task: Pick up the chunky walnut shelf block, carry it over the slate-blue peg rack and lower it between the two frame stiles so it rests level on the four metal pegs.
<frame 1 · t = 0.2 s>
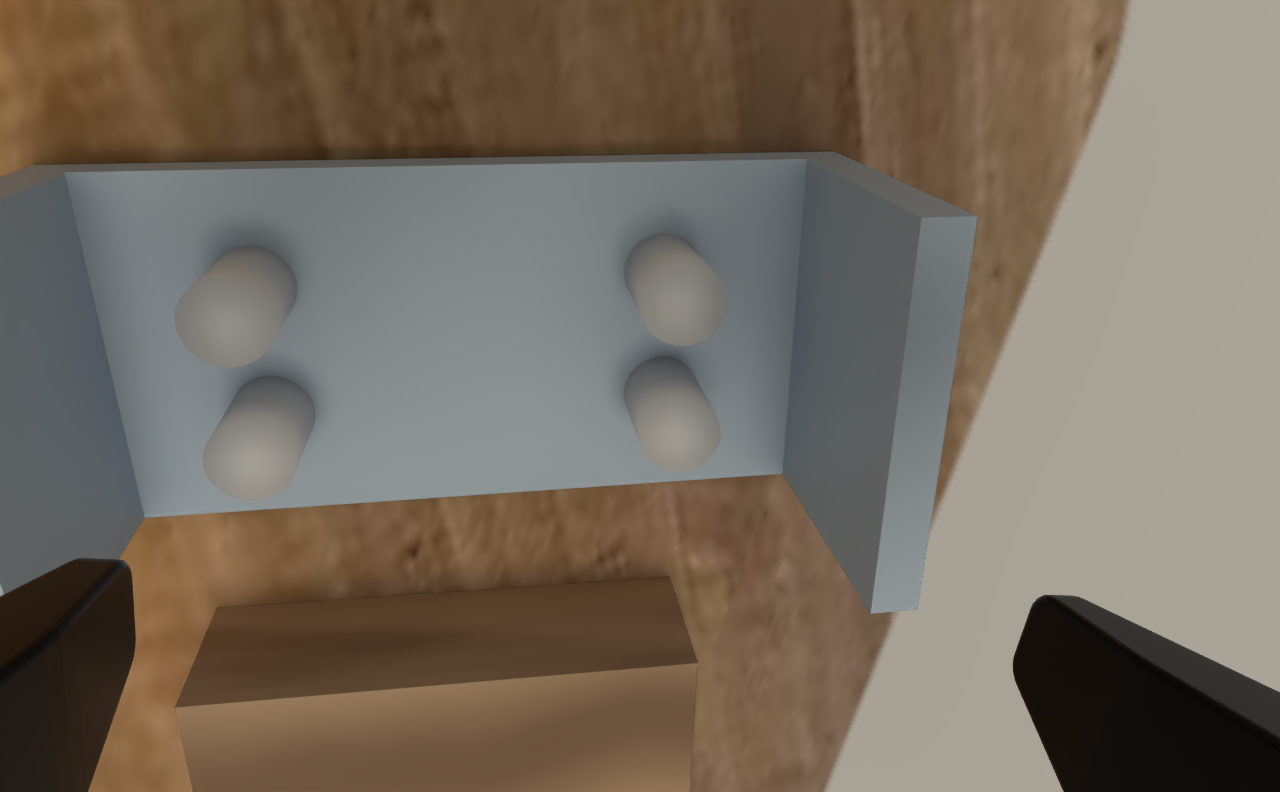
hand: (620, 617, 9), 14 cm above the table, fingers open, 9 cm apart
shelf block: (456, 659, 26), on the table
peg rack: (469, 327, 22), on the table
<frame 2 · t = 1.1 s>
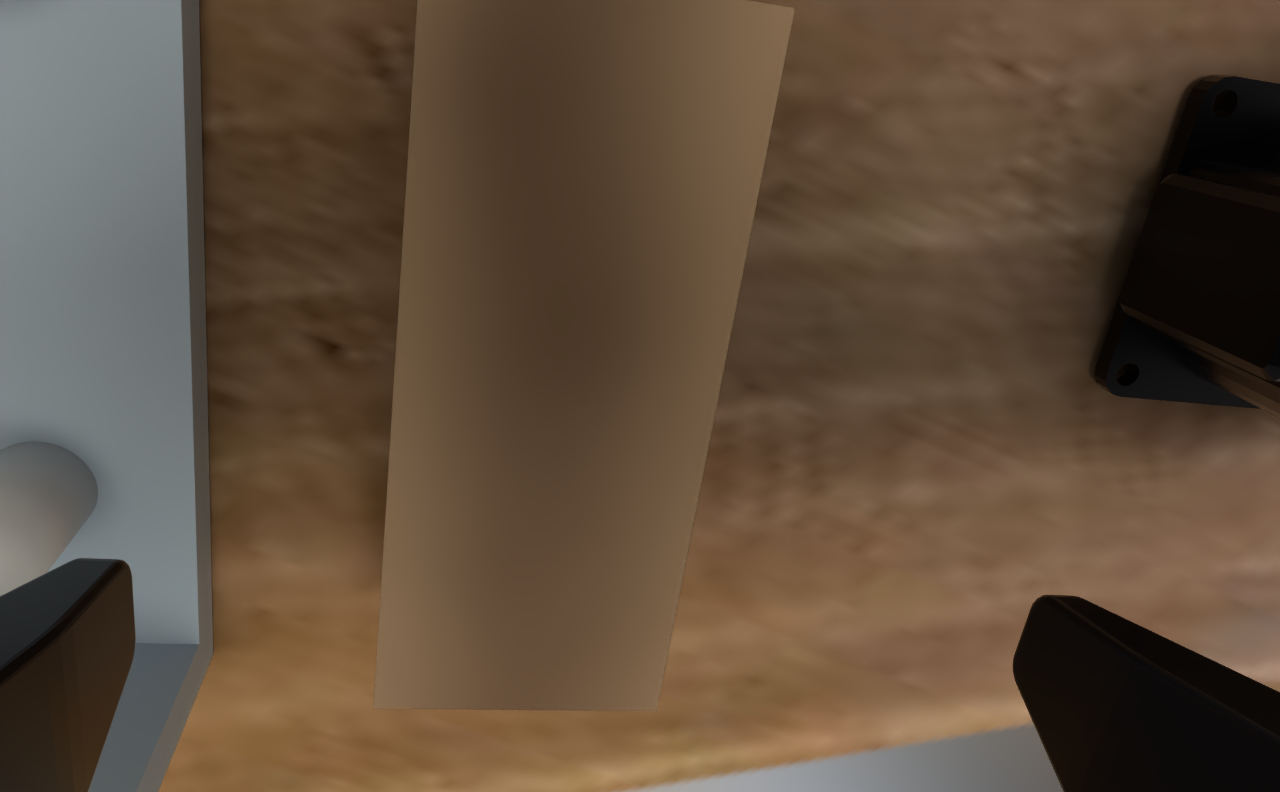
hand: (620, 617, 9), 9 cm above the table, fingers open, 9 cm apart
shelf block: (542, 318, 18), on the table
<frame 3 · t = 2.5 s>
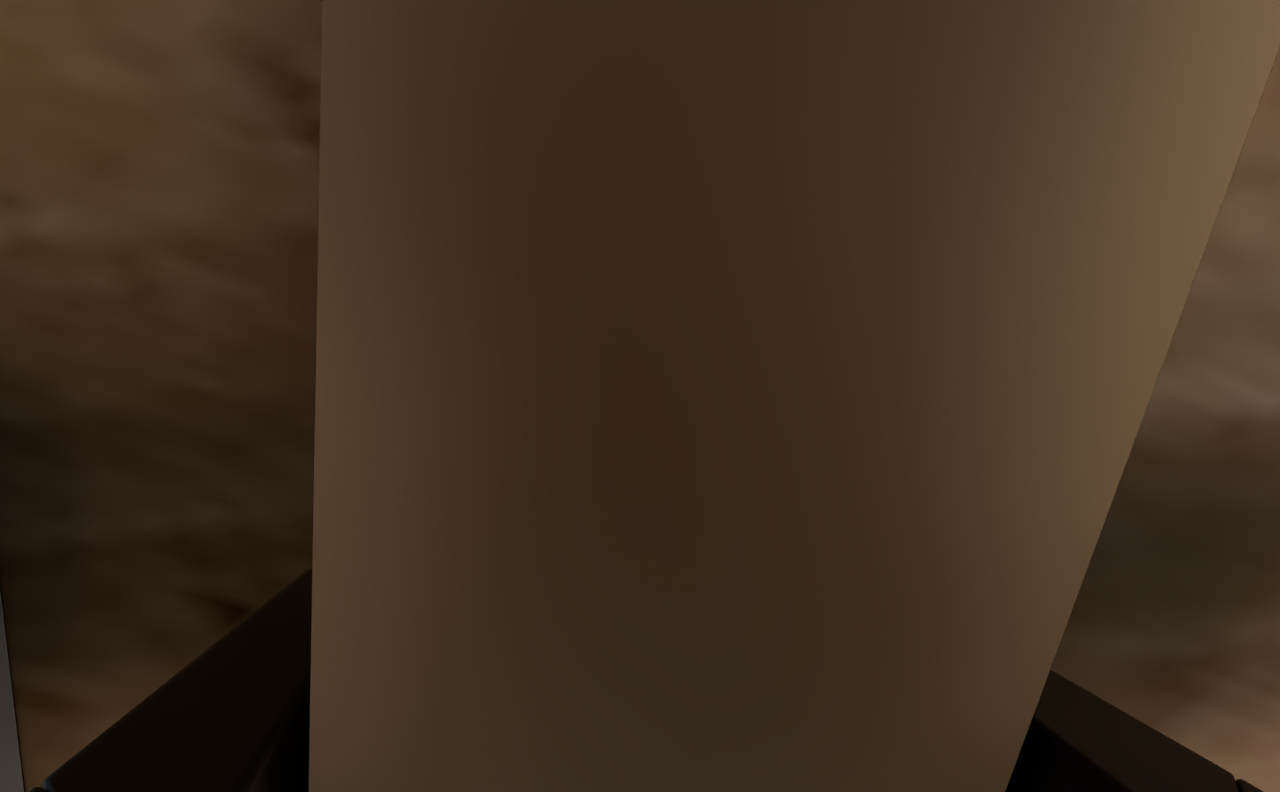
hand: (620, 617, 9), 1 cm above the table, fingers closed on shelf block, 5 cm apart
shelf block: (605, 547, 10), on the table, touching gripper
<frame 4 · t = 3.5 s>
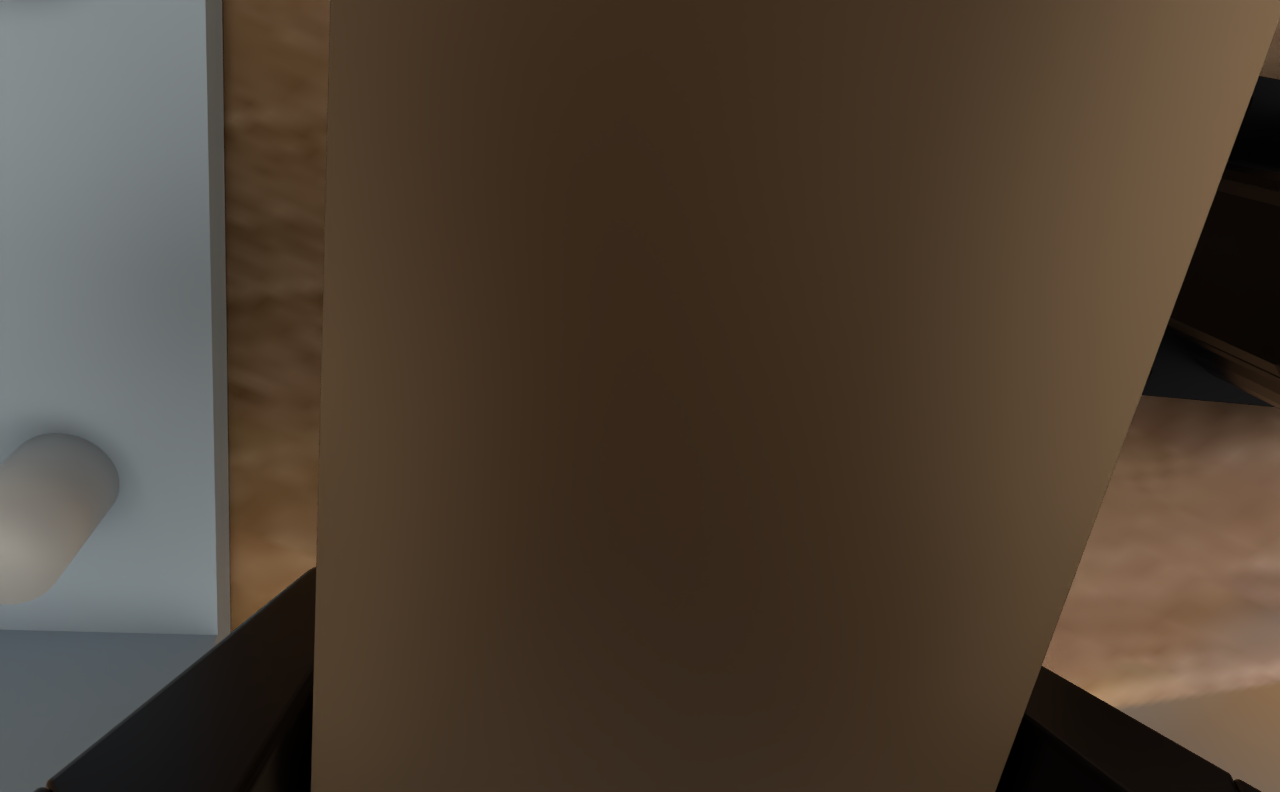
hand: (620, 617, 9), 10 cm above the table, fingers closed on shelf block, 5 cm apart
shelf block: (604, 541, 10), point 8 cm above the table, touching gripper
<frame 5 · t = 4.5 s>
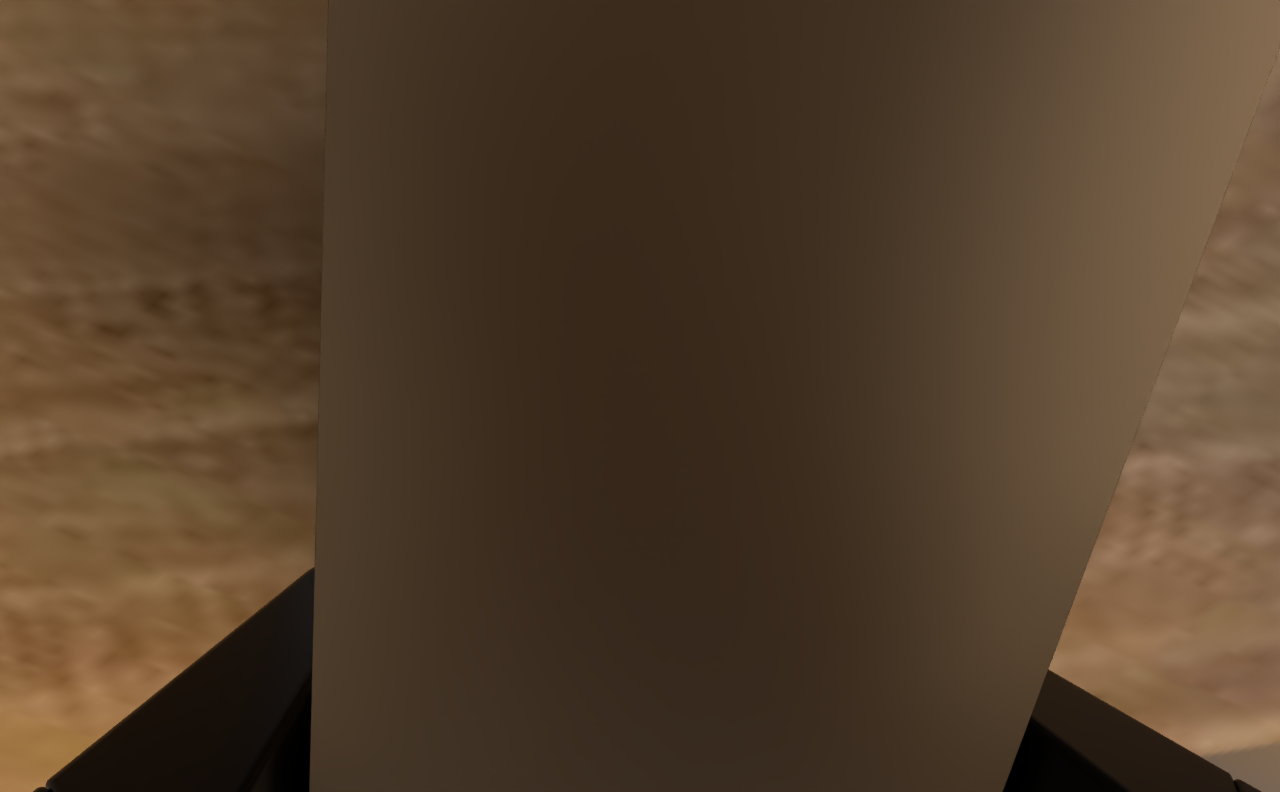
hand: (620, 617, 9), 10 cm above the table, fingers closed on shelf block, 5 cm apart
shelf block: (604, 545, 10), point 9 cm above the table, touching gripper
when the fingers open (5 cm above the table, at t = 5.7 s): shelf block stays where it is, resting on peg rack.
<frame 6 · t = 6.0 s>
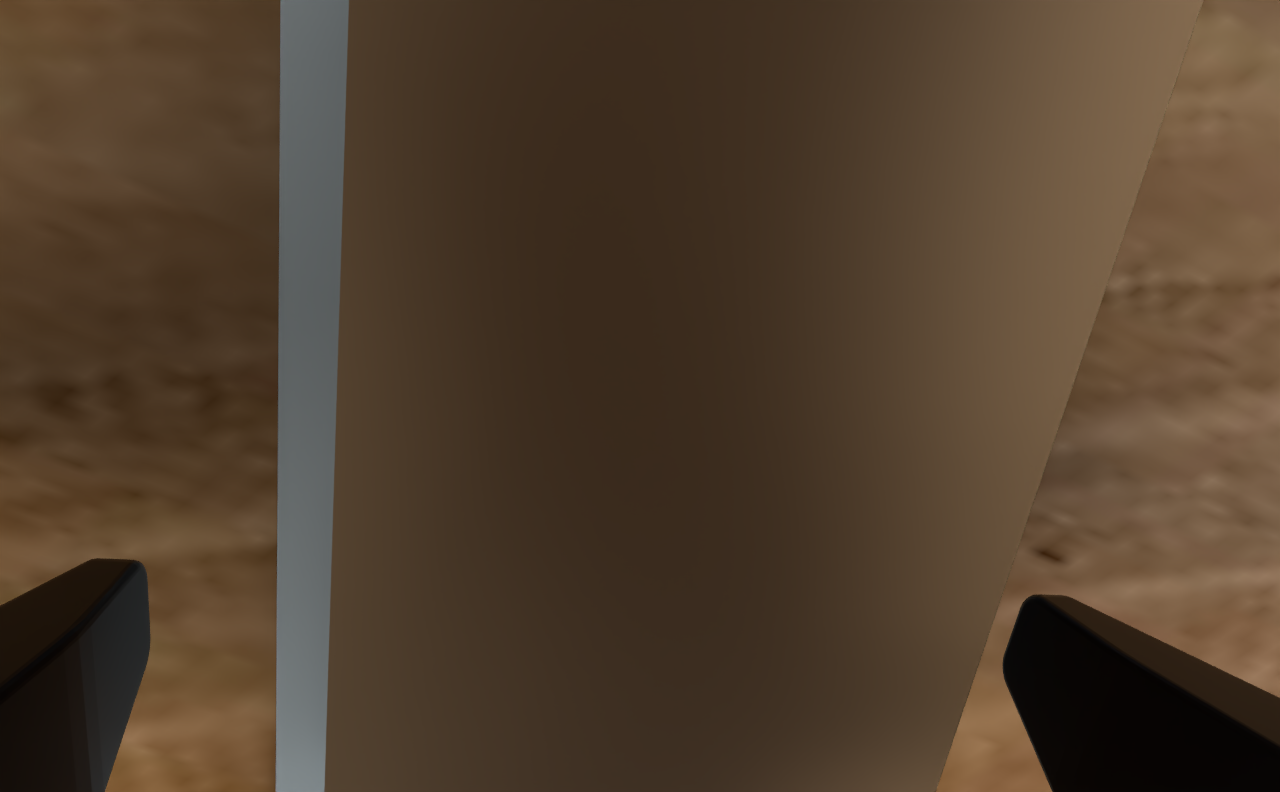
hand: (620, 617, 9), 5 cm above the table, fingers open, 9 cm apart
shelf block: (597, 513, 11), point 3 cm above the table, touching peg rack
peg rack: (568, 400, 14), on the table
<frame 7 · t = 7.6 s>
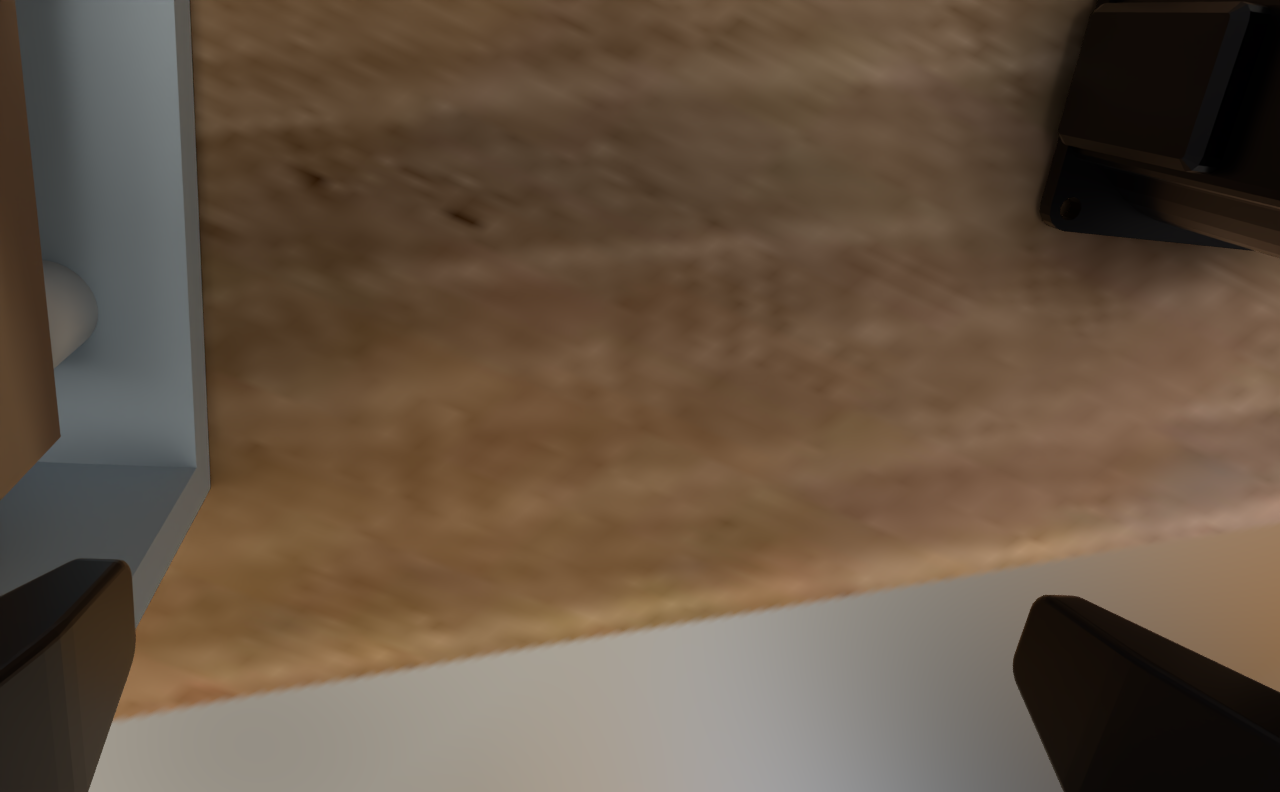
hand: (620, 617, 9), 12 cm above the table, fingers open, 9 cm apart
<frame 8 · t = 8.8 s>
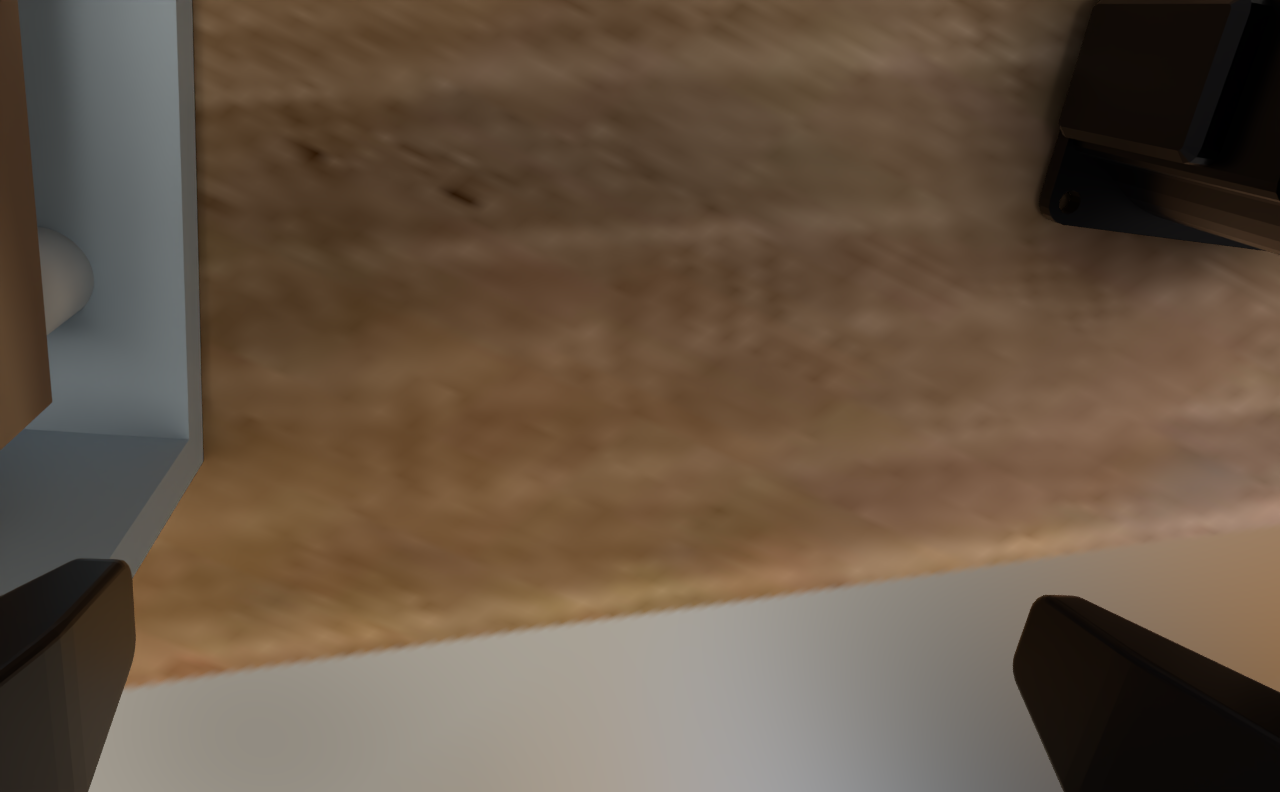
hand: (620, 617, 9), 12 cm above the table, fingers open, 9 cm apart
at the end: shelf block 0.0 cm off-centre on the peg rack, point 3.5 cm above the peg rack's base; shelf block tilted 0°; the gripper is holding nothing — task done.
